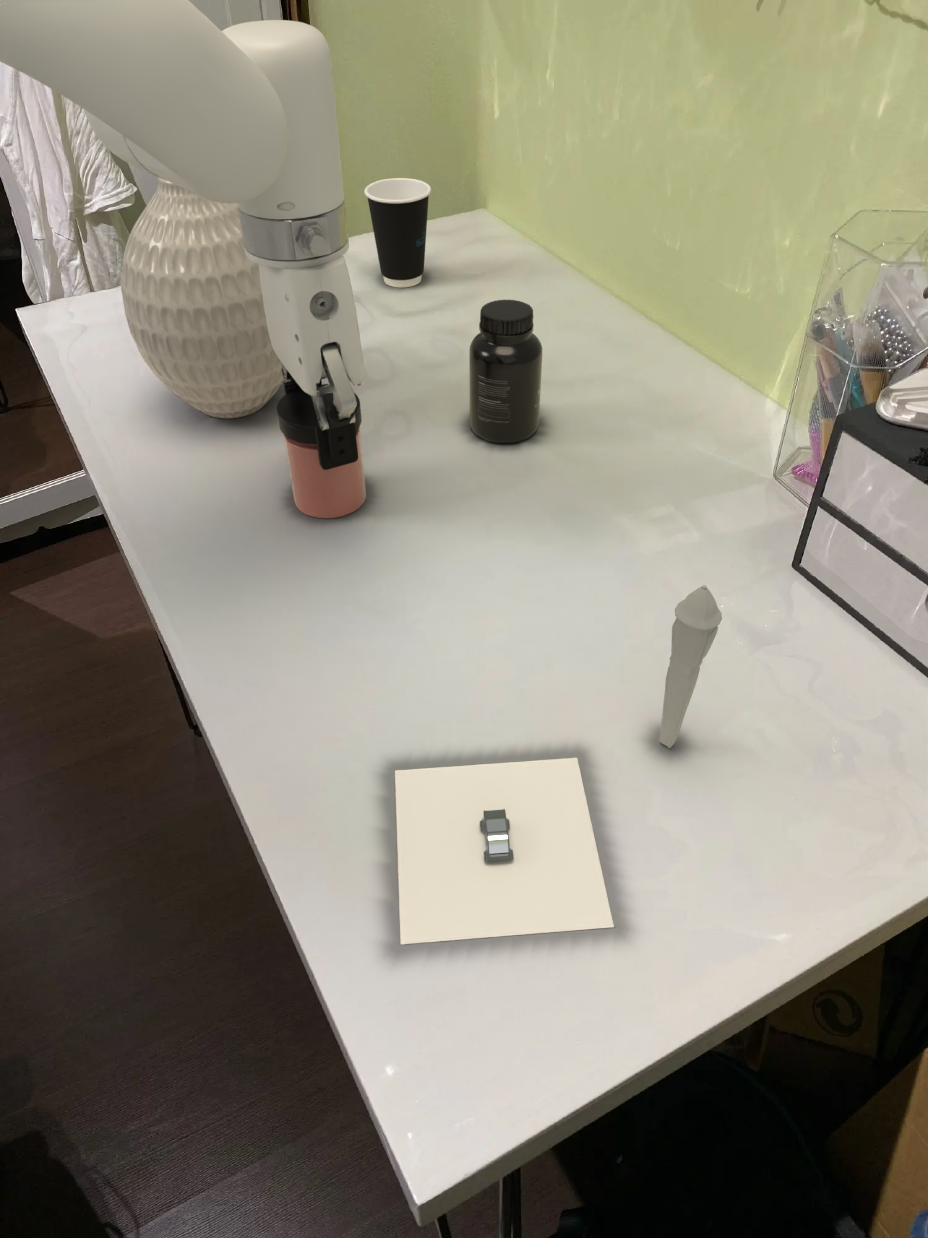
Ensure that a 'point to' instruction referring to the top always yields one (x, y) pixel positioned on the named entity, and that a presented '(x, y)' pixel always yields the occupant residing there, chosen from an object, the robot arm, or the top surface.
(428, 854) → the cream paper sheet
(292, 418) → the jar lid
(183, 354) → the vase
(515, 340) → the supplement bottle
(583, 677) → the top surface
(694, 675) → the grey tapered bar
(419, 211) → the dixie cup
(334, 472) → the cream jar
